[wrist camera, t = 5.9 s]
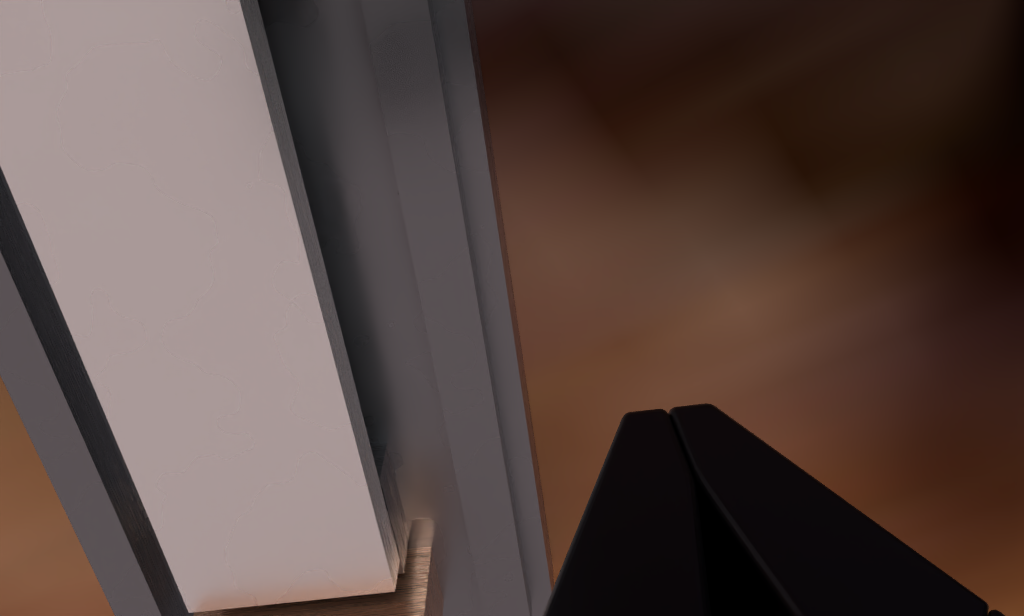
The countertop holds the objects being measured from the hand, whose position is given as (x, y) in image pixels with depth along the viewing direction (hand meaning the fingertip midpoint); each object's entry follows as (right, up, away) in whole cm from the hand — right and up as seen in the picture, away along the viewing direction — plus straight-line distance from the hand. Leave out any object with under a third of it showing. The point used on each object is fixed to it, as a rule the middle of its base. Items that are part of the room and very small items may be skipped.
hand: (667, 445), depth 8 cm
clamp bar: (-8, +3, +9) cm, 12 cm away
